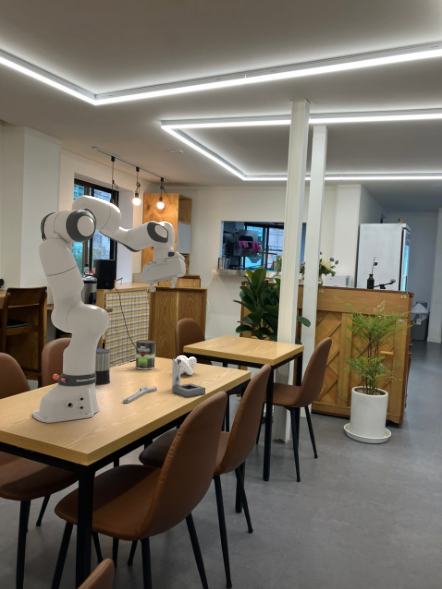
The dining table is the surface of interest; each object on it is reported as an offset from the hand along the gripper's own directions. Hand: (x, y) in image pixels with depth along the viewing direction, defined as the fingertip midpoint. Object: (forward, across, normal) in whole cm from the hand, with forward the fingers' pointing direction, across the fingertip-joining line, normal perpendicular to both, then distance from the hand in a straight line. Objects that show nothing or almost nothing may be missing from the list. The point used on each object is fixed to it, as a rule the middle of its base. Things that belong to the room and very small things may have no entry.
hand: (162, 289), depth 191 cm
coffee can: (+19, -45, +52) cm, 71 cm away
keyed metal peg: (+36, -9, +27) cm, 46 cm away
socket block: (+39, -1, +24) cm, 46 cm away
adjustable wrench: (+41, -17, +10) cm, 45 cm away
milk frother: (+32, -48, +15) cm, 59 cm away
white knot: (+25, -20, +51) cm, 60 cm away
